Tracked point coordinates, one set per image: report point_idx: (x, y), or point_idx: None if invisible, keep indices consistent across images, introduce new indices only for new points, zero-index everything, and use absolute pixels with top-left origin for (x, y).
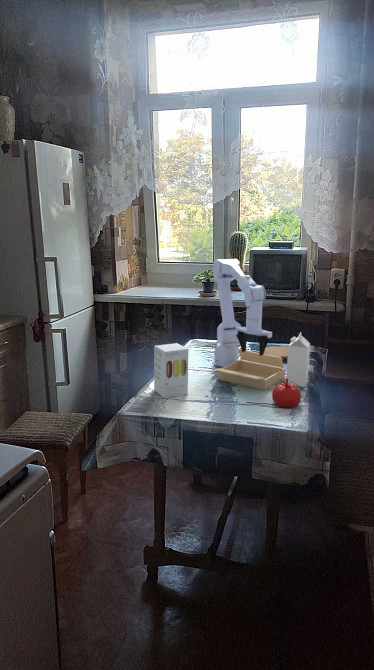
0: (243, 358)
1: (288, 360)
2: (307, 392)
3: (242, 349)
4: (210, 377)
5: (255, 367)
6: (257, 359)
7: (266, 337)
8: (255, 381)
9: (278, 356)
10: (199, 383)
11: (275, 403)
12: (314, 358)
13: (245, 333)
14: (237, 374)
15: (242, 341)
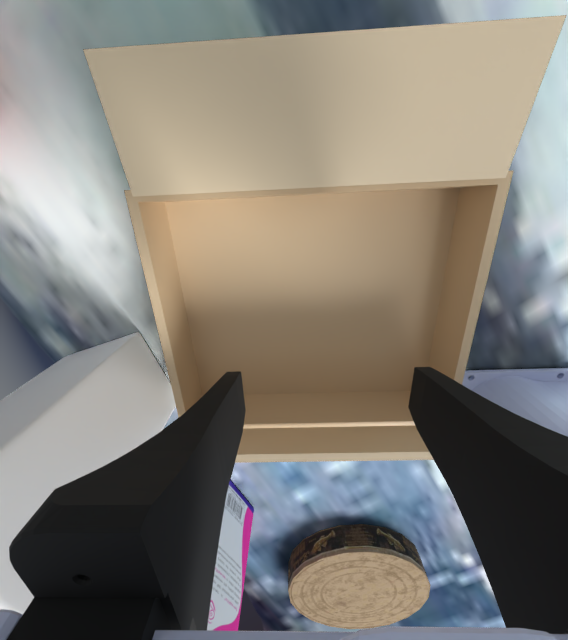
0: None
1: (32, 416)
2: (15, 307)
3: (433, 377)
4: (526, 184)
5: (345, 406)
6: (338, 434)
7: (37, 612)
8: None
9: (332, 554)
10: (561, 10)
11: None
12: (249, 597)
13: (564, 634)
14: (282, 36)
15: (495, 444)
